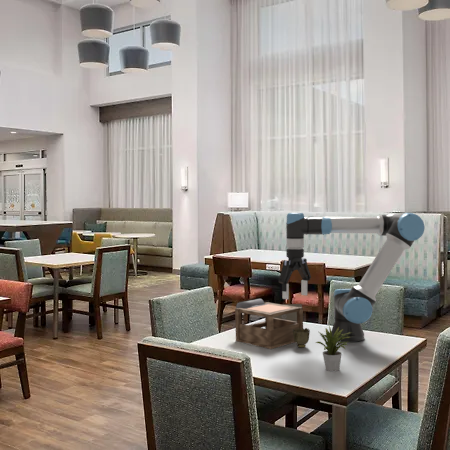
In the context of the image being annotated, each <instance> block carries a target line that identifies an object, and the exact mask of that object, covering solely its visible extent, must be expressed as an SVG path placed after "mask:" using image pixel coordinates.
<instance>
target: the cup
mask: <svg viewBox="0 0 450 450" xmlns="http://www.w3.org/2000/svg"><path fill="white" fill-rule="evenodd" d="M310 330H311V329H309V328H307V327H305V328H304V327H303V328H302V329H301V328H297V330H296V328H295V330H294V329H293V336H294V341H295V343H294V344H297V345H296V346H297V348H299V349H305V348H306V346H307V345H306V344H308V342H309V340H310V335H311V334H310V333H311V331H310Z"/></svg>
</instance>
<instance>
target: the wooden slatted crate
mask: <svg viewBox="0 0 450 450" xmlns="http://www.w3.org/2000/svg"><path fill="white" fill-rule="evenodd" d="M264 304H271V305H277V306H284V307H290V309H285V310H281V311H276V312H272V313H268V312H262V311H256V310H250V309H244V308H236V307H235V309H234V316H235V317H234V318H235V319H234V320H235V325H234V327H235V341H236V342H239V343H243V344H247V345H252V346H256V347H260V348H264V349H269V350H273V349H276V348H277V349H278V348H279V347H283V346H286V345H291V344H296V343H295V341H294V336H293V329H294V330H295V328H296V330H297V328H301V329H302V328H303V329H304V310H303V309H304V308H303V306H302V307H294V306H287V304H280V303H274V302H269V301H268V302H264ZM241 312H242V313H241ZM293 312H297V322H294V321H289V320H283V319H278V318H273V317H275V316H280V315H284V314H289V313H293ZM242 314H247V315H254V316H259V317H264V321H259V322H256V323H250V324H244V323H242Z"/></svg>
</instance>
